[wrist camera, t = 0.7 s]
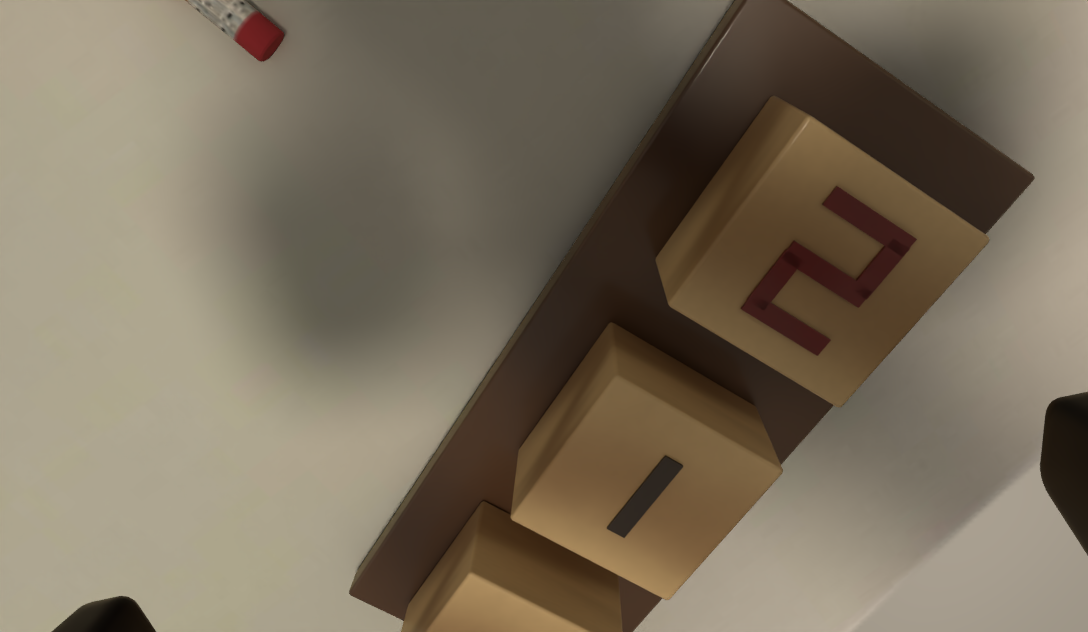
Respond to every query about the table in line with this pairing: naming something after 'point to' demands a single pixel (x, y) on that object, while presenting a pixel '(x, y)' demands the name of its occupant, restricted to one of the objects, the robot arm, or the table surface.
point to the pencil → (242, 25)
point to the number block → (812, 253)
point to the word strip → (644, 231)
